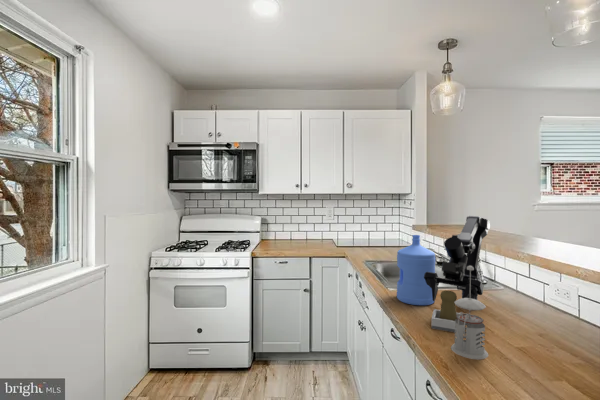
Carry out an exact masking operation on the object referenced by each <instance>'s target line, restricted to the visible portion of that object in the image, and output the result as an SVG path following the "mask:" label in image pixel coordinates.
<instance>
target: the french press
mask: <svg viewBox="0 0 600 400" xmlns="http://www.w3.org/2000/svg"><path fill="white" fill-rule="evenodd" d="M467 270H470V294H471V270H474V267H472V266H468V267H467ZM454 303H455V306H457V307H458V308H461V309H464V310H468V313H464V312H463V311H460V312H459V313H460V314H458V315H457V316H456V317H457V319H456V320H455V328H456V329H455V332H456V333H455V332H454V343H453V344H452V345H451V347H450V349H451V351H452V352H454V353H455V355H458V356H461V357H463V358H466V359H467V358H468V359H470V360H484V359H487V358H488V357H489V353H488V352H487V350H486V349H485V344H486V343H485V342H484V341H485V340H486V339H485V336H486V335H485V333H486V326H485V324H484V321H485V320H484V319H483V318H482V317H481V316H479V315H476V314H471V311H482V310H485V309H486V305H485V304H484V303H483V302H481V301H480V300H479V299H477V300H475V299H472V298H462V297H461V298H457V299H456V301H455V302H454ZM462 313H463V314H462ZM461 325H463V326H464V328H463V326H461ZM463 330H464V332H463Z"/></svg>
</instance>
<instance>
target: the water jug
mask: <svg viewBox="0 0 600 400" xmlns="http://www.w3.org/2000/svg"><path fill="white" fill-rule="evenodd" d="M420 238H421V235H419V234H412V238H411V241H412V242H411V243H412V244H411V245H407V246H405V247H403V248H401V249H399V250H398V251H397V254H396V260H397V264H396V265H397V267H398V268H399V279H398V281H397V282H396V298H397V300H399V302H402V303H404V304H408V305H413V306H430V305H433V304H434V303H435V302H436V300H435V301H433V299H432V288H430V286H429V285H427V283H426V281H425V279H424V274H425V273H426V272H433V273H436V253H435V252H434V251H432V250H431V249H428V248H426V246H425V247H424V246H422V245H421V243H420V242H421V239H420Z"/></svg>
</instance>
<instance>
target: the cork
mask: <svg viewBox="0 0 600 400" xmlns="http://www.w3.org/2000/svg"><path fill="white" fill-rule="evenodd" d="M439 296H440V299H441V303H440V309H439V310H440V317H439V318H440V319H446V320H452V321H455V320H456V319H457V317H456V316H457V314H456V312H457V307H456V305H455V303H454V302H455V301H456V300H458V297H457V293H456V292H454V291H452V290H442V291H441V292H440V295H439Z"/></svg>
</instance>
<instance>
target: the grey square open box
mask: <svg viewBox="0 0 600 400" xmlns="http://www.w3.org/2000/svg"><path fill="white" fill-rule="evenodd" d="M440 310H441V309H437V308H433V311H432V316H431V318H430V319H431V329H433V330H439V331H444V332H445V331H446V332H451V333H454V334H455V333H456V332H455V329H456V328H455V321H452V320H446V319H440V318H439V317H440ZM460 313H461V312H458V311H456V314H457V315H458V314H460ZM463 313H464V312H462V314H463ZM461 326H463V325H461ZM463 328H464V326H463ZM463 332H464V330H463Z"/></svg>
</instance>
